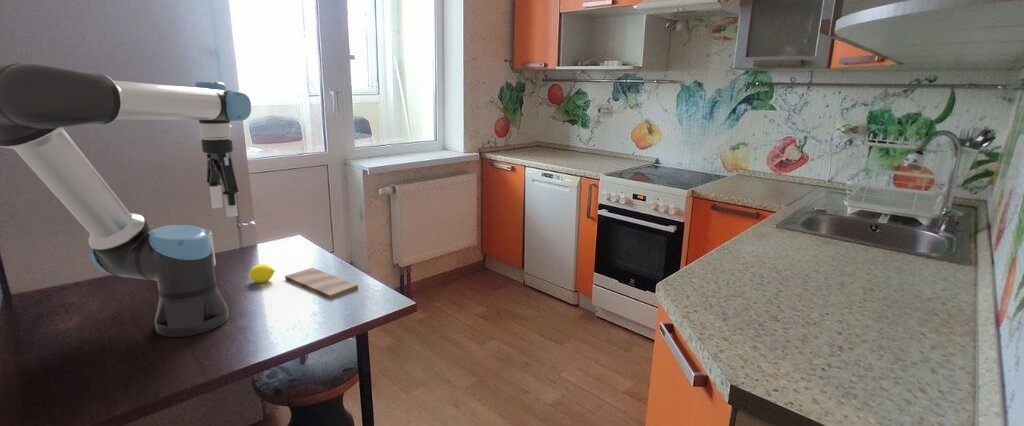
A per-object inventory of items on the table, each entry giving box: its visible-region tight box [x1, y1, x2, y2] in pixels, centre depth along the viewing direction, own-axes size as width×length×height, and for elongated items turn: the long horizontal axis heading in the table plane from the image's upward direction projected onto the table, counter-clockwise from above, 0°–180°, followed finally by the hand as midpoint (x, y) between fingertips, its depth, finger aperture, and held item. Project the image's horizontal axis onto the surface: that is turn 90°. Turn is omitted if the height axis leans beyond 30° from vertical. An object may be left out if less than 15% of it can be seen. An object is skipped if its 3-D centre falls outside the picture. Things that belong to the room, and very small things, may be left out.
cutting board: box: [284, 267, 359, 300], centre depth 148 cm, size 22×9×1 cm, turn 54°
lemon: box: [248, 263, 276, 284], centre depth 149 cm, size 7×5×5 cm
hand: (224, 211), depth 149 cm, fingers open, 13 cm apart
